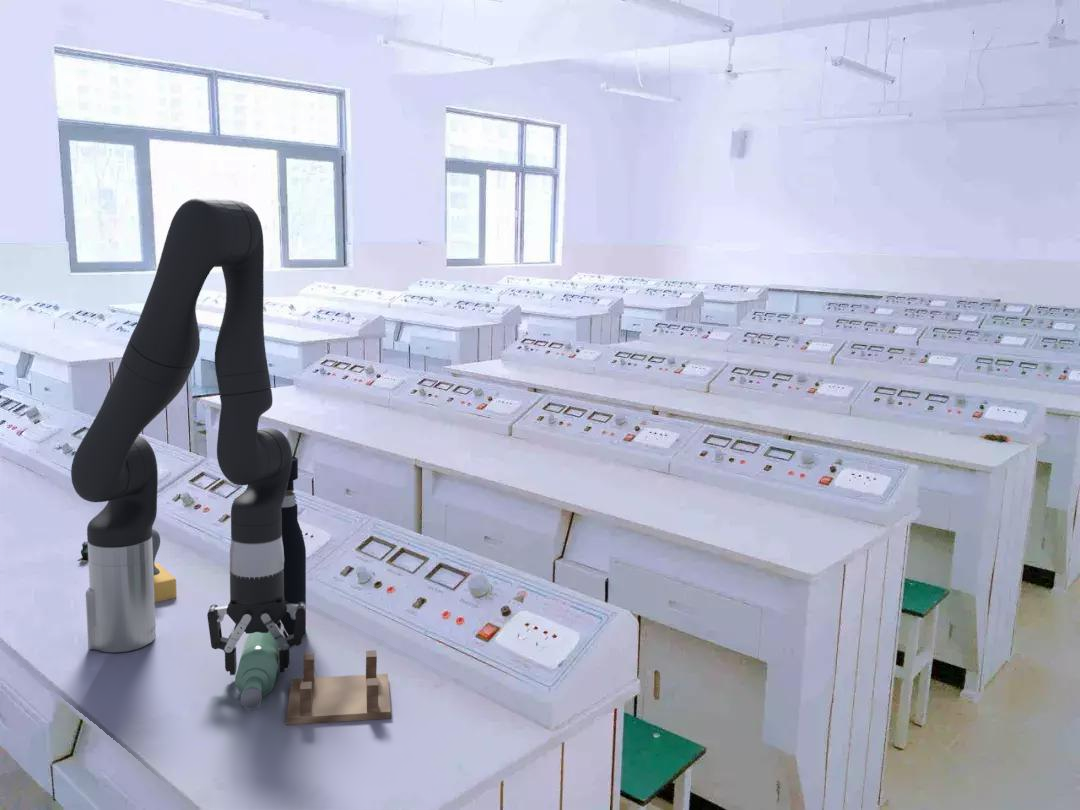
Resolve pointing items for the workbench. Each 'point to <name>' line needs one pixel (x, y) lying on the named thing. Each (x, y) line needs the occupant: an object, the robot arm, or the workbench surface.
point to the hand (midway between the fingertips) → (258, 671)
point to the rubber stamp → (161, 575)
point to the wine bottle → (293, 553)
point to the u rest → (338, 695)
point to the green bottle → (257, 668)
